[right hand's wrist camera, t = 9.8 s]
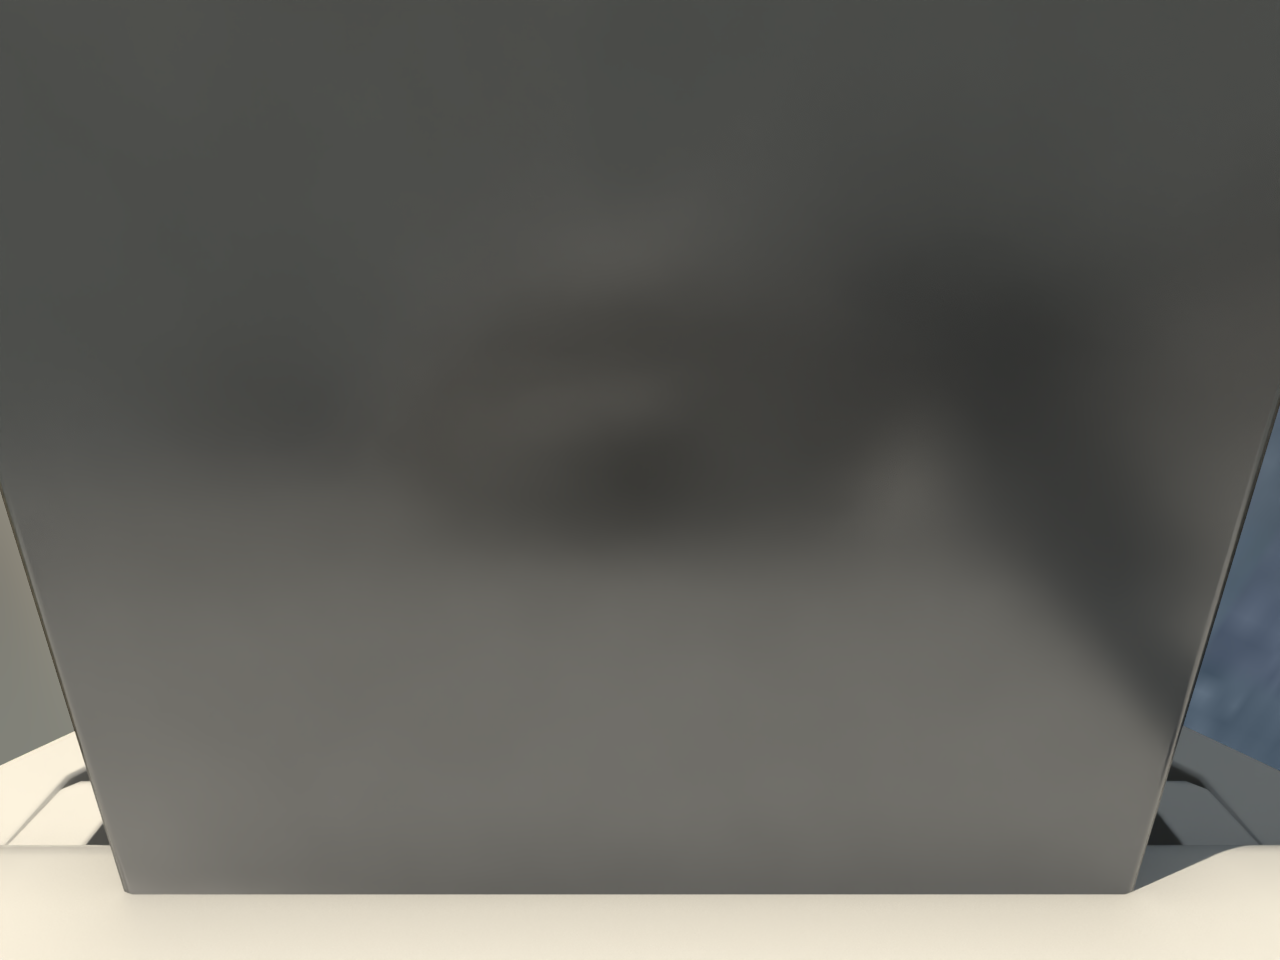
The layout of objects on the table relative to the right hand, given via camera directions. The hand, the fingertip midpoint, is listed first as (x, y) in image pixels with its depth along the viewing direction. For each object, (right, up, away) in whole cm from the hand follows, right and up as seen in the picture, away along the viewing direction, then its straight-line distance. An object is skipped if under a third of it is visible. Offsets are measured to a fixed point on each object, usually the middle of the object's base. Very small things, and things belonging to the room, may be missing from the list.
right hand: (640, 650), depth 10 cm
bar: (0, +8, +1) cm, 8 cm away
